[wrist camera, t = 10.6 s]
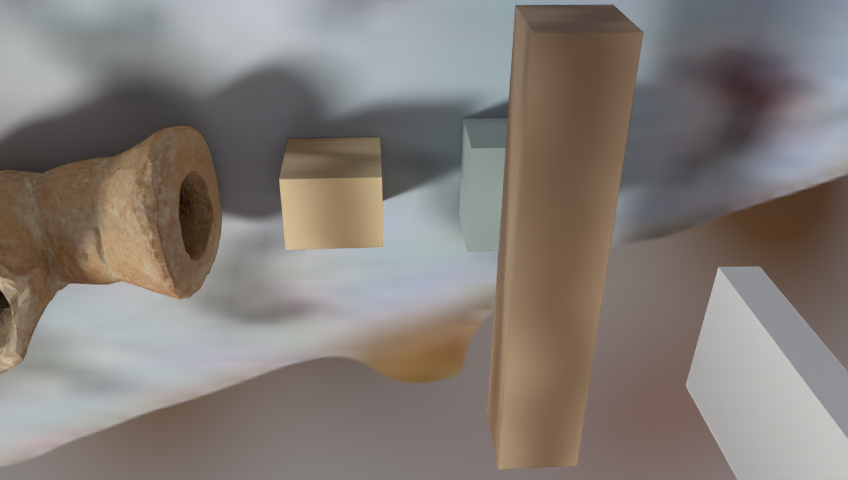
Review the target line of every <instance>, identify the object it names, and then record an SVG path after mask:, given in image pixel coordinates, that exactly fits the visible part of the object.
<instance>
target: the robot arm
mask: <svg viewBox="0 0 848 480" xmlns="http://www.w3.org/2000/svg"><path fill="white" fill-rule="evenodd" d="M686 387H687V389H688V391H689V393H690V395H691V396H692V398H693V400H694V402H695V404H696V405H697V407H698V409H699V411H700V412H701V415H702V416H703V418H704V420H705V422H706V424H707V425H708V427H709V429H710V431H711V433H712V434H713V436H714V438H715V440H716V442H717V444H718V445H719V447H720V449H721V451H722V453H723V454H724V456H725V458H726V460H727V462H728V464H729V465H730V467H731V469H732V471H733V472H734V474H735V476H736V478H737V480H848V372H847V370H846V369H845V368H844V367H843V366H842V365H841V363H840V362H839V361H838V360H837V359H836V357H835V356H834V355H833V354H832V353H831V352H830V350H829V349H828V348H827V347H826V345H825V344H824V343H823V342H822V341H821V340H820V338H819V337H818V336H817V335H816V333H815V332H814V331H813V330H812V329H811V327H810V326H809V325H808V324H807V323H806V321H805V320H804V319H803V318H802V317H801V315H800V314H799V313H798V312H797V311H796V310H795V308H794V307H793V306H792V305H791V304H790V302H789V301H788V300H787V299H786V298H785V296H784V295H783V294H782V293H781V292H780V290H779V289H778V288H777V287H776V286H775V284H774V283H773V282H772V281H771V280H770V278H769V277H768V276H767V275H766V274H765V273H764V271H763V270H762V269H761V268H760V267H718V271H717V274H716V278H715V281H714V285H713V289H712V292H711V296H710V300H709V303H708V307H707V311H706V314H705V318H704V321H703V325H702V329H701V333H700V336H699V340H698V343H697V347H696V350H695V354H694V358H693V361H692V365H691V369H690V373H689V376H688V379H687V383H686Z"/></svg>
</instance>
